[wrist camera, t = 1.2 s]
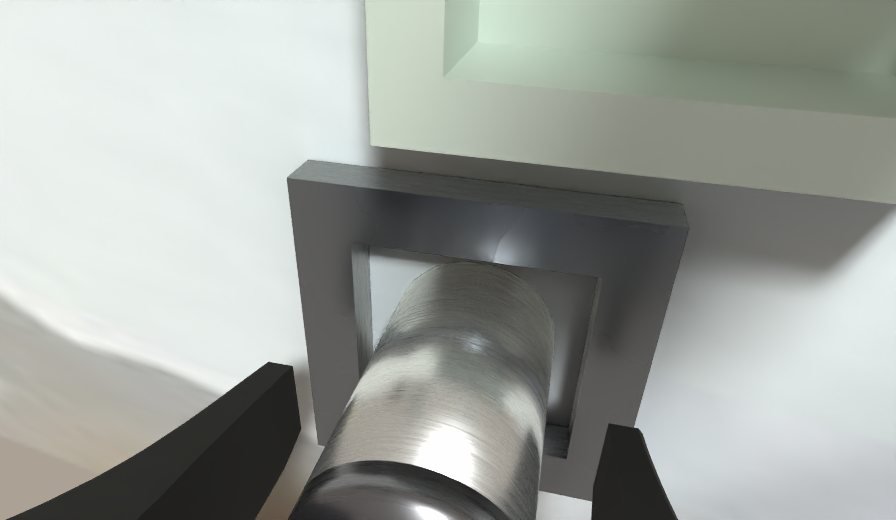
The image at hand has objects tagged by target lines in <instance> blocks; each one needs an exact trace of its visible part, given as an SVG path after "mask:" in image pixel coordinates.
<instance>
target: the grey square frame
mask: <svg viewBox="0 0 896 520" xmlns="http://www.w3.org/2000/svg"><path fill="white" fill-rule="evenodd" d="M287 184H288V192H289V201H290V209H291V218H292V226H293V235H294V243H295V252H296V260H297V269H298V277H299V286H300V294H301V303H302V311H303V320H304V328H305V337H306V345H307V354H308V362H309V371H310V379H311V388H312V396H313V405H314V413H315V422H316V430H317V439H318V445H322V446H326V445H327V443H328V441H329V439H330V437H331V435H332V433H333V431H334V429H335V427H336V425H337V423H338V421H339V419H340V417H341V416H342V414H343V412H344V410H345V408H346V406H347V404H348V402H349V400H350V398H351V396H352V394H353V392H354V390H355V388H356V386H357V384H358V383H359V381H360V379H361V377H362V375H363V373H364V371H365V369H366V367H367V365H368V363H369V361H370V359H371V357H372V355H373V339H372V316H371V293H370V269H369V246H368V245H373V246H380V247H387V248H394V249H401V250H408V251H415V252H422V253H429V254H436V255H443V256H450V257H457V258H464V259H471V260H478V261H485V262H492V263H500V264H507V265H514V266H521V267H528V268H535V269H542V270H549V271H556V272H563V273H570V274H577V275H584V276H591V277H598V280H597V285H596V290H595V295H594V300H593V305H592V310H591V315H590V320H589V325H588V331H587V336H586V341H585V346H584V351H583V356H582V361H581V366H580V371H579V376H578V381H577V386H576V392H575V397H574V402H573V407H572V412H571V417H570V422H569V427H568V428H567V427H562V426H556V425H551V424H546V425H545V434H544V444H543V453H542V463H541V472H540V482H539V490H540V491H544V492H549V493H554V494H559V495H564V496H569V497H573V498H578V499H583V500H588V501H592V497H593V485H594V481H595V477H596V473H597V468H598V464H599V460H600V456H601V452H602V448H603V444H604V440H605V436H606V432H607V428H608V424H609V423H611V424H616V425H622V426H627V427H633V428H634V425H635V421H636V417H637V414H638V410H639V407H640V403H641V400H642V396H643V392H644V389H645V385H646V382H647V378H648V374H649V371H650V367H651V364H652V360H653V356H654V353H655V349H656V346H657V342H658V338H659V335H660V331H661V328H662V324H663V320H664V317H665V313H666V310H667V306H668V302H669V299H670V295H671V292H672V288H673V284H674V281H675V277H676V274H677V270H678V266H679V263H680V259H681V256H682V252H683V248H684V245H685V241H686V238H687V234H688V230H689V226H688V222H687V219H686V215H685V212H684V208H683V205H682V204H678V203H669V202H661V201H653V200H644V199H636V198H627V197H619V196H610V195H602V194H593V193H585V192H577V191H568V190H560V189H551V188H543V187H534V186H526V185H517V184H509V183H501V182H492V181H484V180H475V179H467V178H458V177H450V176H442V175H433V174H425V173H416V172H408V171H399V170H391V169H382V168H374V167H366V166H357V165H349V164H340V163H332V162H323V161H315V160H307V161H306V162H305V163H304V164H303V165H301V166H300V167H299V168H298V169H297V170H295V171H294V172H293V173H292V174H291V175H290V176H288V177H287Z"/></svg>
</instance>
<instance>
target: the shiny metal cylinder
mask: <svg viewBox="0 0 896 520" xmlns="http://www.w3.org/2000/svg"><path fill="white" fill-rule="evenodd" d="M554 338H555V332H554V324H553V320H552V316H551V314H550V312H549V309H548V307H547V306H546V304H545V302H544V301H543V299H542V298H541V297H540V296H539V294H538V293H537V292H536V291H535V290H534V289H533V288H532V287H531V286H530V285H529V284H528V283H526V282H525V281H524V280H522V279H521V278H519V277H518V276H516V275H514V274H513V273H511V272H509V271H506V270H504V269H502V268H499V267H496V266H493V265H489V264H484V263H479V262H454V263H447V264H444V265H440V266H437V267H435V268H432V269H430V270H428V271H426V272H425V273H423V274H421V275H420V276H419V277H418V278H417V279H415V280H414V281H413V282H412V284H411V285H410V286H409V287H408V289H407V290H406V292H405V293H404V295H403V297H402V299H401V301H400V303H399V305H398V307H397V309H396V311H395V313H394V315H393V317H392V318H391V320H390V322H389V324H388V326H387V328H386V330H385V332H384V334H383V336H382V338H381V340H380V342H379V344H378V346H377V348H376V350H375V351H374V353H373V355H372V357H371V359H370V361H369V363H368V365H367V367H366V369H365V371H364V373H363V375H362V377H361V379H360V381H359V383H358V384H357V386H356V388H355V390H354V392H353V394H352V396H351V398H350V400H349V402H348V404H347V406H346V408H345V410H344V412H343V414H342V416H341V417H340V419H339V421H338V423H337V425H336V427H335V429H334V431H333V433H332V435H331V437H330V439H329V441H328V443H327V445H326V447H325V448H324V450H323V452H322V454H321V456H320V458H319V460H318V462H317V464H316V466H315V468H314V470H313V472H312V474H311V476H310V478H309V480H308V481H307V483H306V485H305V487H304V489H303V491H302V493H301V495H300V497H299V499H298V501H297V503H296V505H295V507H294V509H293V511H292V513H291V514H290V516H289V518H288V520H536V510H537V501H538V491H539V482H540V472H541V463H542V453H543V444H544V434H545V425H546V415H547V406H548V396H549V387H550V377H551V368H552V358H553V349H554Z"/></svg>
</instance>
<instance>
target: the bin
mask: <svg viewBox="0 0 896 520" xmlns="http://www.w3.org/2000/svg"><path fill="white" fill-rule="evenodd" d="M365 14H366V41H367V68H368V95H369V122H370V146H379V147H388V148H397V149H406V150H415V151H424V152H433V153H442V154H451V155H460V156H469V157H478V158H487V159H496V160H505V161H513V162H522V163H531V164H540V165H549V166H558V167H567V168H576V169H585V170H594V171H603V172H612V173H621V174H630V175H639V176H648V177H657V178H666V179H674V180H683V181H692V182H701V183H710V184H719V185H728V186H737V187H746V188H755V189H764V190H773V191H782V192H791V193H800V194H809V195H818V196H827V197H835V198H844V199H853V200H862V201H871V202H880V203H889V204H896V0H365Z"/></svg>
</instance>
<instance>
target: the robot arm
mask: <svg viewBox="0 0 896 520" xmlns="http://www.w3.org/2000/svg"><path fill="white" fill-rule="evenodd" d="M300 430H301V423H300V416H299V409H298V402H297V394H296V387H295V380H294V372H293V366H289V365H283V364H278V363H272V362H268V363H266V364H265V365H264V366H262V367H261V368H259V369H258V370H257V371H255V372H254V373H253V374H251V375H250V376H248V377H247V378H246V379H244V380H243V381H242V382H240V383H239V384H238V385H236V386H235V387H234V388H232V389H231V390H230V391H228V392H227V393H226V394H224V395H223V396H222V397H220V398H219V399H218V400H216V401H215V402H213V403H212V404H211V405H209V406H208V407H206V408H205V409H204V410H202V411H201V412H199V413H198V414H197V415H195V416H194V417H192V418H191V419H190V420H188V421H187V422H185V423H184V424H182V425H181V426H179V427H178V428H176V429H175V430H173V431H172V432H170V433H169V434H167V435H166V436H164V437H163V438H161V439H160V440H158V441H157V442H155V443H154V444H152V445H151V446H149V447H147V448H146V449H144V450H143V451H141V452H139V453H138V454H136V455H134V456H133V457H131V458H129V459H128V460H126V461H124V462H122V463H121V464H119V465H117V466H115V467H113V468H112V469H110V470H108V471H106V472H105V473H103V474H101V475H99V476H97V477H95V478H93V479H92V480H90V481H88V482H85V483H84V484H82V485H79V486H78V487H75V488H74V489H71V490H69V491H67V492H66V493H63V494H61V495H59V496H57V497H55V498H53V499H51V500H49V501H47V502H45V503H43V504H41V505H38V506H36V507H34V508H32V509H29V510H27V511H25V512H23V513H20V514H18V515H16V516H14V517H11V518H9V519H6V520H255V518H256V516H257V515H258V513H259V511H260V510H261V508H262V506H263V505H264V503H265V501H266V499H267V498H268V496H269V494H270V493H271V491H272V489H273V487H274V486H275V484H276V482H277V480H278V479H279V477H280V475H281V473H282V472H283V470H284V468H285V466H286V463H287V461H288V459H289V457H290V454H291V452H292V450H293V447H294V445H295V442H296V440H297V438H298V435H299V433H300ZM591 520H678V519H677V517H676V515H675V512H674V510H673V508H672V506H671V504H670V502H669V500H668V498H667V495H666V493H665V491H664V489H663V486H662V484H661V482H660V479H659V477H658V474H657V472H656V470H655V467H654V465H653V462H652V460H651V457H650V454H649V451H648V449H647V446H646V443H645V440H644V437H643V434H642V432H641V431H640V430H639V429H638V428H633V427H627V426H622V425H616V424H611V423H609V424H608V428H607V432H606V436H605V440H604V444H603V448H602V452H601V456H600V460H599V464H598V468H597V473H596V477H595V481H594V485H593V497H592V517H591Z"/></svg>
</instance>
